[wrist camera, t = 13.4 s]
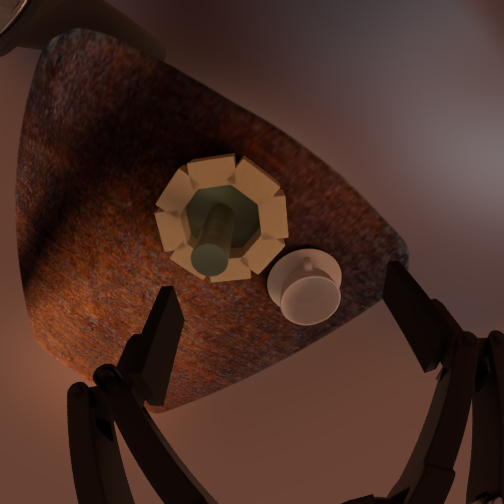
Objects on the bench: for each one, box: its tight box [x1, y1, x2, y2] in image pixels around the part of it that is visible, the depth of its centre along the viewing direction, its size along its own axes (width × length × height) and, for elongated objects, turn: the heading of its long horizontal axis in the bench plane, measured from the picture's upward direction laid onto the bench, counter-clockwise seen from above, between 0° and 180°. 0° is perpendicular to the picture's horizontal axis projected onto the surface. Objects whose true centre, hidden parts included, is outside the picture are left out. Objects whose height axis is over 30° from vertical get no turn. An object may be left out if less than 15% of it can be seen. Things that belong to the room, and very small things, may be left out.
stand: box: [185, 185, 260, 277], centre depth 26 cm, size 9×9×12 cm
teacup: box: [267, 249, 341, 325], centre depth 34 cm, size 10×10×5 cm
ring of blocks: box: [154, 153, 288, 282], centre depth 29 cm, size 14×14×3 cm
